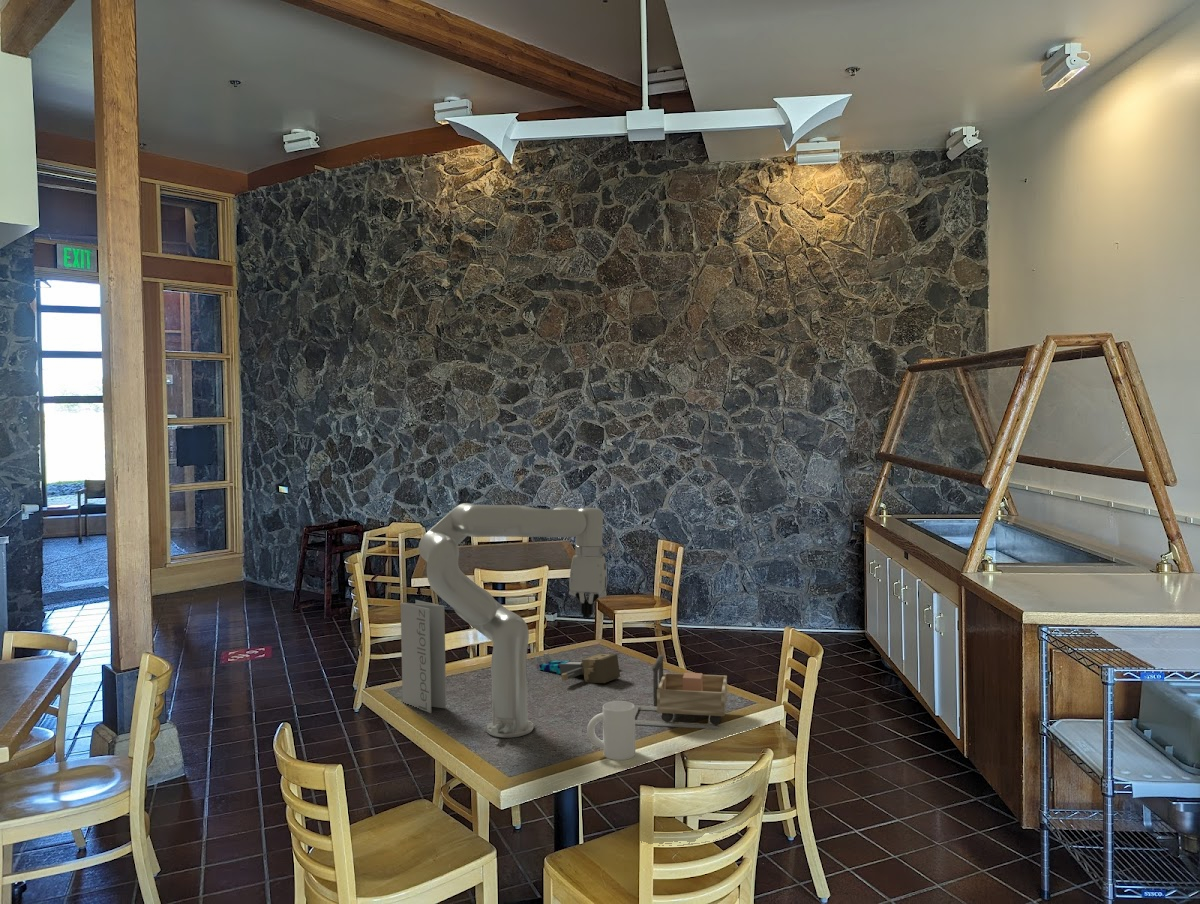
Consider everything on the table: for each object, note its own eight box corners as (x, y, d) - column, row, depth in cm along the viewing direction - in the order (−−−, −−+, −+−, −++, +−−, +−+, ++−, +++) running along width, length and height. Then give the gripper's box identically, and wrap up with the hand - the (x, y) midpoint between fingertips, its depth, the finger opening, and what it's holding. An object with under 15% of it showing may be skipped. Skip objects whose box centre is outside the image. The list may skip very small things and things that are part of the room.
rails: (717, 729, 218) (717, 726, 218) (622, 723, 224) (622, 720, 223) (720, 712, 231) (720, 709, 231) (629, 707, 237) (629, 704, 237)
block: (682, 702, 224) (682, 677, 224) (685, 697, 229) (684, 672, 229) (701, 704, 223) (700, 678, 223) (702, 698, 228) (702, 673, 228)
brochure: (402, 702, 244) (400, 602, 244) (418, 698, 248) (416, 599, 248) (430, 713, 235) (428, 609, 234) (446, 708, 239) (444, 606, 238)
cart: (724, 727, 217) (723, 671, 216) (652, 723, 221) (651, 668, 220) (727, 707, 232) (726, 655, 232) (659, 703, 236) (658, 652, 236)
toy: (565, 646, 290) (633, 646, 272) (568, 668, 290) (636, 670, 271) (513, 663, 270) (583, 665, 251) (516, 687, 269) (586, 690, 251)
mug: (586, 748, 206) (586, 701, 206) (633, 746, 207) (633, 699, 207) (587, 761, 198) (587, 712, 198) (636, 759, 199) (636, 710, 198)
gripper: (617, 551, 232) (615, 616, 232) (566, 549, 235) (564, 612, 235) (612, 554, 224) (610, 621, 224) (559, 552, 227) (557, 617, 227)
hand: (587, 616), depth 230 cm, fingers closed
